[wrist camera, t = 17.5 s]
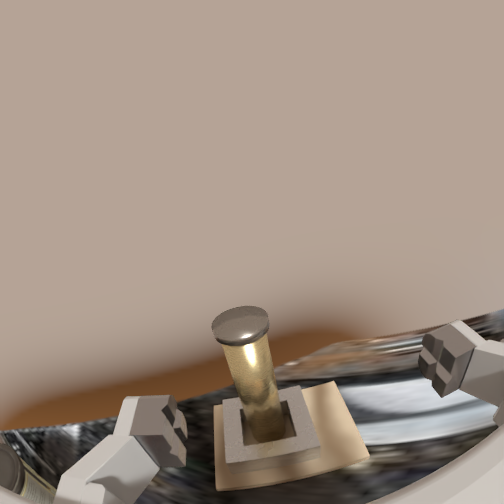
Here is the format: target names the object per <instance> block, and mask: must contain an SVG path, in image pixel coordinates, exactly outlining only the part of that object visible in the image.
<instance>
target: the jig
mask: <svg viewBox="0 0 504 504" xmlns="http://www.w3.org/2000/svg"><path fill="white" fill-rule="evenodd" d="M278 394H279V399H280V404H281V409H282V414H283V415H287V414H289V417H290V420H291V424H292V427H293V431H294V435H295V437H291V438H287V439H282V440H277V441H272V442H266V443H261V444H255V445H248V446H247V443H246V435H245V427H244V423H245V422H248V421H247V419H246V416H245V413H244V410H243V407H242V404H241V402H240V399H239V397H238V398H232V399H225V400H223V421H224V441H225V458H226V464H227V466H228V468H229V470H230V472H231V474H239V473H247V472H254V471H260V470H266V469H272V468H277V467H283V466H287V465H292V464H297V463H301V462H305V461H309V460H313V459H317V458H320V447H321V445H320V442H319V440H318V437H317V434H316V431H315V428H314V425H313V422H312V419H311V417H310V414H309V411H308V408H307V405H306V402H305V399H304V397H303V394H302V391H301V388H300V385H299V386H295V387H290V388H286V389H281V390H278Z"/></svg>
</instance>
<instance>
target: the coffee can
mask: <svg viewBox="0 0 504 504" xmlns="http://www.w3.org/2000/svg"><path fill="white" fill-rule="evenodd" d="M0 486H2V487H4V488H6V489H8V490H10V491H12V492H14V493H16V494H18V495H21V496H23V497H25V498H27V499H30V500H32V501H35V502H37V503H40V504H53V502H54V498H55V495H56V492H57V490H56V489H55V488H54V487H53V486H51V485H50V484H49V483H48V482H46V481H45V480H44V479H43V478H42V477H41V476H40V475H38V474H37V473H36V472H35V471H34V470H33V469H32V468H31V467H29V466H28V465H27V464H26V463H25V462H24V461H23V460H22V459H21V458H20V457H19V456H18V454H17V453H16V452H15V451H14V450H13V449H12V448H11V447H10V446H8V445H6V444H1V443H0Z"/></svg>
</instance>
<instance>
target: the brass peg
mask: <svg viewBox="0 0 504 504" xmlns="http://www.w3.org/2000/svg"><path fill="white" fill-rule="evenodd" d="M268 329H269V320H268V315H267V313H266V311H265V310H263V309H261V308H259V307H255V306H242V307H236V308H233V309H230V310H227V311H225V312H223V313H221V314H220V315H219V316H217V317H216V318H215V320H214V321H213V323H212V331H213V334H214V337H215V339H216V340H217V341H218V342H219V343H221V344H222V346H223V349H224V353H225V356H226V359H227V362H228V365H229V369H230V372H231V375H232V378H233V381H234V384H235V387H236V390H237V393H238V396H239V399H240V402H241V404H242V407H243V410H244V413H245V416H246V419H247V421H248V424H249V427H250V430H251V432H252V435H253V437H254V439H255V440H256V441H257V442H259V443H266V442H272V441H277V440H280V439H281V438H282V437H283V436H284V434H285V431H286V429H285V424H284V419H283V414H282V409H281V404H280V399H279V394H278V389H277V384H276V379H275V374H274V369H273V365H272V360H271V354H270V350H269V345H268V340H267V335H266V333H267V331H268Z"/></svg>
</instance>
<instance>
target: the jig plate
mask: <svg viewBox="0 0 504 504" xmlns="http://www.w3.org/2000/svg"><path fill="white" fill-rule="evenodd" d="M301 391H302V394H303V397H304V399H305V402H306V405H307V408H308V411H309V414H310V417H311V419H312V422H313V425H314V428H315V431H316V434H317V437H318V440H319V442H320V445H321V447H320V458H317V459H313V460H309V461H305V462H301V463H297V464H292V465H287V466H283V467H277V468H272V469H266V470H260V471H254V472H247V473H239V474H231V472H230V470H229V468H228V466H227V464H226V458H225V441H224V421H223V404H222V405H214V447H215V477H216V490H217V491H229V490H239V489H248V488H255V487H262V486H268V485H274V484H280V483H285V482H290V481H295V480H299V479H303V478H308V477H312V476H315V475H319V474H323V473H327V472H330V471H333V470H337V469H340V468H343V467H346V466H349V465H352V464H355V463H358V462H361V461H364V460H366V459H369V457H370V455H369V452H368V450H367V448H366V446H365V444H364V442H363V440H362V438H361V436H360V434H359V431H358V429H357V427H356V425H355V423H354V421H353V419H352V417H351V415H350V413H349V411H348V409H347V407H346V405H345V403H344V400H343V398H342V396H341V394H340V392H339V390H338V388H337V386H336V384H335V382H334V381H332V382H329V383H325V384H321V385H318V386H314V387H310V388H306V389H302V390H301ZM283 419H284V424H285V429H286V431H285V434H284V436H283V437H282V438H281V439H280V440H282V439H287V438H291V437H295V435H294V431H293V427H292V424H291V420H290V417H289V414H287V415H283ZM244 427H245V435H246V443H247V446H248V445H255V444H261V443H259V442H257V441H256V440H255V439H254V437H253V435H252V432H251V430H250V427H249V424H248V422H245V423H244Z"/></svg>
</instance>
